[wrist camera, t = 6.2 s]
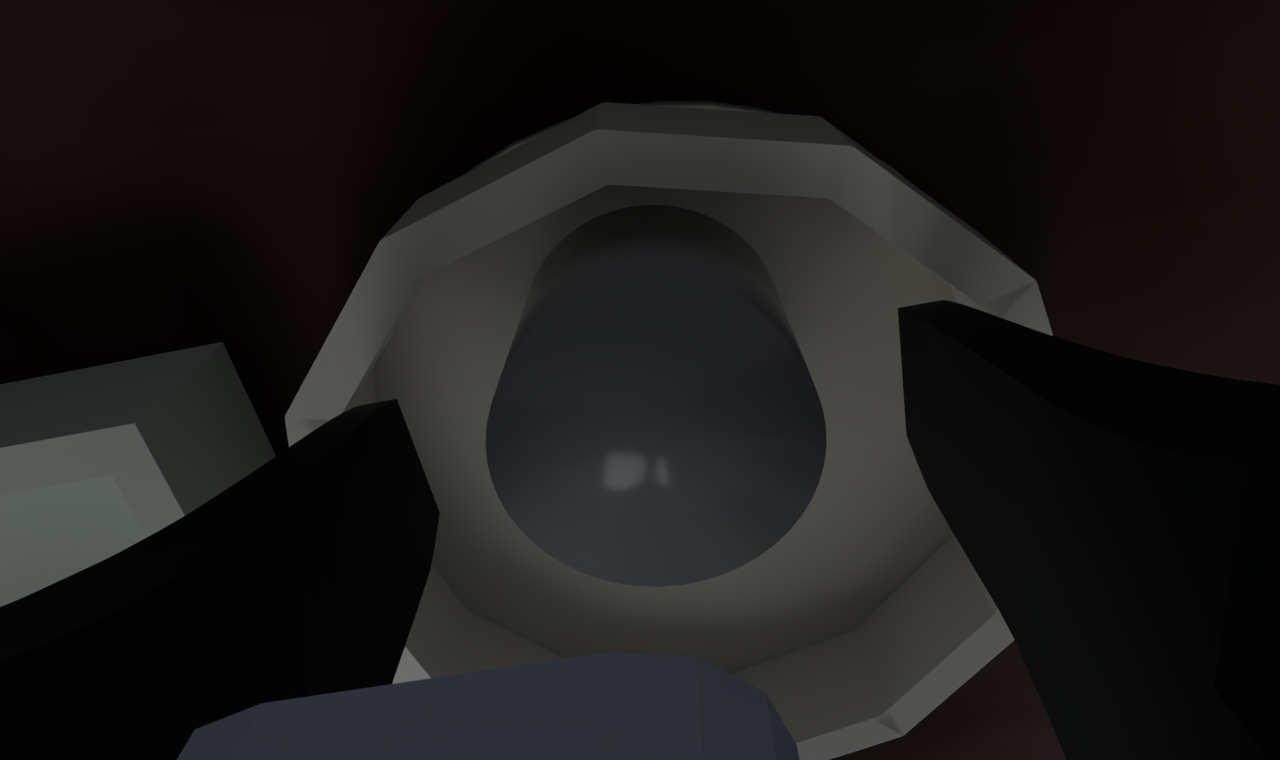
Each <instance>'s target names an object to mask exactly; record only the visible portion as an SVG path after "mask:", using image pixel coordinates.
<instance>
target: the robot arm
mask: <svg viewBox="0 0 1280 760" xmlns="http://www.w3.org/2000/svg"><path fill="white" fill-rule="evenodd" d="M898 320H899V334H900V349H901V364H902V378H903V393H904V407H905V422H906V435H907V438H908V441H909V443H910V446H911V448H912V451H913V453H914V456H915V459H916V461H917V464H918V466H919V469H920V471H921V474H922V476H923V478H924V481H925V483H926V486H927V488H928V490H929V492H930V494H931V496H932V497H933V499H934V501H935V503H936V505H937V506H938V508H939V510H940V511H941V513H942V515H943V517H944V518H945V520H946V522H947V523H948V525H949V527H950V529H951V530H952V532H953V534H954V535H955V537H956V539H957V540H958V542H959V544H960V545H961V547H962V549H963V551H964V552H965V554H966V556H967V557H968V559H969V561H970V562H971V564H972V566H973V567H974V569H975V571H976V572H977V574H978V576H979V577H980V579H981V581H982V583H983V584H984V586H985V588H986V589H987V591H988V593H989V594H990V596H991V598H992V599H993V601H994V603H995V604H996V606H997V608H998V610H999V611H1000V613H1001V615H1002V617H1003V619H1004V621H1005V623H1006V625H1007V626H1008V628H1009V630H1010V632H1011V634H1012V636H1013V638H1014V640H1015V642H1016V644H1017V646H1018V649H1019V651H1020V653H1021V655H1022V658H1023V660H1024V662H1025V664H1026V667H1027V669H1028V671H1029V673H1030V675H1031V678H1032V680H1033V682H1034V684H1035V687H1036V689H1037V691H1038V693H1039V696H1040V698H1041V700H1042V702H1043V705H1044V707H1045V709H1046V712H1047V714H1048V716H1049V719H1050V721H1051V724H1052V726H1053V728H1054V731H1055V733H1056V735H1057V738H1058V740H1059V742H1060V745H1061V747H1062V750H1063V752H1064V754H1065V757H1066V759H1067V760H1280V385H1276V384H1268V383H1260V382H1251V381H1243V380H1236V379H1229V378H1223V377H1217V376H1211V375H1205V374H1199V373H1194V372H1189V371H1184V370H1179V369H1175V368H1170V367H1165V366H1160V365H1155V364H1150V363H1145V362H1141V361H1137V360H1133V359H1129V358H1125V357H1121V356H1118V355H1114V354H1111V353H1107V352H1104V351H1100V350H1097V349H1093V348H1090V347H1086V346H1083V345H1079V344H1076V343H1073V342H1070V341H1067V340H1063V339H1060V338H1057V337H1054V336H1051V335H1048V334H1045V333H1042V332H1039V331H1037V330H1034V329H1031V328H1028V327H1025V326H1022V325H1020V324H1017V323H1014V322H1011V321H1008V320H1006V319H1003V318H1000V317H997V316H995V315H992V314H989V313H986V312H984V311H981V310H978V309H975V308H972V307H969V306H966V305H963V304H960V303H956V302H952V301H947V300H939V301H934V302H928V303H922V304H917V305H911V306H906V307H900V308H898ZM439 515H440V512H439V509H438V507H437V504H436V501H435V499H434V496H433V493H432V491H431V488H430V485H429V483H428V480H427V477H426V475H425V472H424V470H423V467H422V464H421V462H420V459H419V456H418V454H417V451H416V448H415V446H414V443H413V440H412V438H411V435H410V432H409V430H408V427H407V424H406V422H405V419H404V416H403V414H402V411H401V408H400V406H399V403H398V400H397V399H393V400H387V401H382V402H376V403H370V404H365V405H359V406H356V407H354V408H351V409H349V410H347V411H345V412H343V413H341V414H340V415H338V416H336V417H334V418H333V419H331V420H329V421H328V422H326V423H325V424H323V425H321V426H320V427H318V428H317V429H315V430H314V431H312V432H311V433H309V434H308V435H306V436H305V437H303V438H302V439H300V440H299V441H298V442H296V443H295V444H293V445H292V446H290V447H289V448H287V449H286V450H284V451H283V452H281V453H280V454H279V455H277V456H276V457H274V458H273V459H271V460H270V461H268V462H267V463H265V464H264V465H263V466H261V467H260V468H258V469H257V470H255V471H254V472H252V473H251V474H249V475H248V476H246V477H245V478H243V479H242V480H240V481H238V482H237V483H235V484H234V485H232V486H231V487H229V488H228V489H226V490H224V491H223V492H221V493H220V494H218V495H217V496H215V497H214V498H212V499H210V500H209V501H207V502H206V503H204V504H203V505H201V506H200V507H198V508H197V509H195V510H193V511H192V512H190V513H189V514H187V515H185V516H184V517H182V518H180V519H179V520H177V521H175V522H173V523H172V524H170V525H168V526H166V527H165V528H163V529H161V530H159V531H158V532H156V533H154V534H152V535H150V536H149V537H147V538H145V539H143V540H141V541H139V542H137V543H136V544H134V545H132V546H130V547H128V548H126V549H124V550H123V551H121V552H119V553H117V554H115V555H113V556H111V557H109V558H107V559H105V560H103V561H101V562H99V563H97V564H95V565H92V566H90V567H88V568H86V569H84V570H82V571H79V572H77V573H75V574H73V575H71V576H69V577H67V578H64V579H62V580H60V581H58V582H56V583H54V584H51V585H49V586H47V587H45V588H43V589H41V590H38V591H36V592H34V593H32V594H30V595H28V596H25V597H23V598H21V599H18V600H16V601H14V602H11V603H9V604H6V605H4V606H1V607H0V760H800V759H799V754H798V749H797V745H796V743H795V741H794V739H793V738H792V736H791V734H790V733H789V731H788V729H787V728H786V726H785V724H784V723H783V721H782V719H781V717H780V716H779V714H778V712H777V711H776V709H775V707H774V706H773V704H772V702H771V701H770V699H769V697H768V695H767V694H766V692H765V691H763V690H761V689H759V688H757V687H755V686H753V685H751V684H749V683H747V682H745V681H743V680H741V679H739V678H737V677H735V676H733V675H731V674H729V673H727V672H725V671H723V670H721V669H719V668H717V667H715V666H714V665H712V664H710V663H708V662H706V661H704V660H702V659H700V658H698V657H696V656H683V655H663V654H643V653H623V652H606V653H599V654H592V655H585V656H579V657H572V658H565V659H558V660H552V661H545V662H538V663H531V664H525V665H518V666H511V667H504V668H498V669H491V670H484V671H477V672H471V673H464V674H457V675H450V676H444V677H437V678H430V679H423V680H417V681H410V682H403V683H396V684H392V683H393V680H394V677H395V674H396V671H397V668H398V665H399V662H400V659H401V656H402V654H403V651H404V648H405V645H406V642H407V639H408V636H409V633H410V630H411V627H412V624H413V622H414V619H415V616H416V613H417V610H418V607H419V604H420V601H421V598H422V595H423V592H424V589H425V586H426V582H427V579H428V576H429V573H430V569H431V564H432V559H433V553H434V548H435V542H436V536H437V529H438V522H439Z"/></svg>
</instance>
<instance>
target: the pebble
mask: <svg viewBox="0 0 1280 760" xmlns="http://www.w3.org/2000/svg"><path fill="white" fill-rule="evenodd" d="M485 444H486V456H487V464H488V468H489V472H490V476H491V480H492V483H493V485H494V488H495V490H496V493H497V495H498V498H499V499H500V501H501V503H502V505H503V506H504V508H505V510H506V512H507V513H508V515H509V516H510V517H511V519H512V520H513V521H514V523H515V524H516V525H517V526H518V528H519V529H520V530H521V531H522V532H523V533H524V534H525V535H526V536H527V537H528V538H529V539H530V540H531V541H532V542H533V543H534V544H535V545H537V546H538V547H539V548H541V549H542V550H543V551H544V552H546V553H547V554H548V555H550V556H551V557H553V558H555V559H556V560H558V561H560V562H561V563H563V564H565V565H567V566H569V567H571V568H573V569H575V570H577V571H580V572H582V573H584V574H587V575H590V576H593V577H596V578H599V579H602V580H606V581H611V582H615V583H620V584H626V585H635V586H655V587H664V586H675V585H684V584H689V583H695V582H700V581H704V580H707V579H711V578H714V577H717V576H720V575H723V574H726V573H728V572H730V571H733V570H735V569H737V568H739V567H742V566H743V565H745V564H747V563H749V562H750V561H752V560H754V559H756V558H757V557H759V556H760V555H762V554H763V553H764V552H766V551H767V550H769V549H770V548H771V547H773V546H774V545H775V544H776V543H777V542H778V541H779V540H780V539H782V538H783V537H784V536H785V535H786V534H787V533H788V532H789V531H790V530H791V528H792V527H793V526H794V525H795V524H796V522H797V521H798V520H799V519H800V517H801V516H802V514H803V513H804V511H805V510H806V508H807V506H808V505H809V503H810V502H811V500H812V498H813V495H814V493H815V491H816V489H817V486H818V484H819V481H820V478H821V474H822V471H823V467H824V462H825V454H826V424H825V419H824V413H823V408H822V405H821V402H820V399H819V396H818V393H817V390H816V388H815V385H814V383H813V380H812V378H811V375H810V373H809V370H808V368H807V365H806V363H805V360H804V358H803V355H802V353H801V350H800V348H799V345H798V343H797V340H796V338H795V335H794V333H793V330H792V328H791V325H790V323H789V320H788V318H787V315H786V313H785V310H784V308H783V305H782V303H781V300H780V298H779V295H778V293H777V290H776V288H775V285H774V283H773V280H772V278H771V276H770V274H769V272H768V270H767V268H766V266H765V264H764V263H763V261H762V260H761V259H760V257H759V256H758V255H757V253H756V252H755V250H754V249H753V248H752V247H751V246H750V245H749V244H748V243H747V242H746V241H745V240H744V239H743V238H742V237H741V236H739V235H738V234H737V233H735V232H734V231H733V230H732V229H730V228H729V227H727V226H726V225H724V224H722V223H720V222H719V221H717V220H715V219H713V218H711V217H709V216H706V215H704V214H701V213H699V212H696V211H692V210H688V209H685V208H681V207H674V206H667V205H641V206H633V207H626V208H622V209H618V210H614V211H610V212H608V213H605V214H603V215H600V216H598V217H595V218H593V219H591V220H590V221H588V222H586V223H584V224H583V225H581V226H579V227H578V228H576V229H575V230H574V231H572V232H571V233H570V234H568V235H567V236H566V237H565V238H564V239H563V240H562V241H561V242H560V243H559V244H558V245H557V246H555V247H554V248H553V250H552V251H551V252H550V254H549V255H548V256H547V258H546V259H545V260H544V261H543V263H542V265H541V267H540V268H539V270H538V272H537V274H536V276H535V278H534V280H533V283H532V286H531V288H530V291H529V294H528V297H527V300H526V303H525V306H524V308H523V311H522V314H521V317H520V320H519V323H518V326H517V329H516V332H515V335H514V338H513V341H512V344H511V347H510V350H509V353H508V356H507V359H506V362H505V365H504V368H503V370H502V373H501V376H500V379H499V382H498V385H497V388H496V391H495V394H494V397H493V400H492V403H491V407H490V411H489V416H488V420H487V426H486V441H485Z"/></svg>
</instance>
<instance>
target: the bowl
mask: <svg viewBox="0 0 1280 760" xmlns="http://www.w3.org/2000/svg"><path fill="white" fill-rule="evenodd" d="M641 205H667V206H674V207H681V208H685V209H688V210H692V211H696V212H699V213H701V214H704V215H706V216H709V217H711V218H713V219H715V220H717V221H719V222H720V223H722V224H724V225H726V226H727V227H729V228H730V229H732V230H733V231H734V232H735V233H737V234H738V235H739V236H741V237H742V238H743V239H744V240H745V241H746V242H747V243H748V244H749V245H750V246H751V247H752V248H753V249H754V250H755V252H756V253H757V255H758V256H759V257H760V259H761V260H762V261H763V263H764V264H765V266H766V268H767V270H768V272H769V274H770V276H771V278H772V280H773V283H774V285H775V288H776V290H777V293H778V295H779V298H780V300H781V303H782V305H783V308H784V310H785V313H786V315H787V318H788V320H789V323H790V325H791V328H792V330H793V333H794V335H795V338H796V340H797V343H798V345H799V348H800V350H801V353H802V355H803V358H804V360H805V363H806V365H807V368H808V370H809V373H810V375H811V378H812V380H813V383H814V385H815V388H816V390H817V393H818V396H819V399H820V402H821V405H822V408H823V413H824V419H825V424H826V454H825V462H824V467H823V471H822V474H821V478H820V481H819V484H818V486H817V489H816V491H815V493H814V495H813V498H812V500H811V502H810V503H809V505H808V506H807V508H806V510H805V511H804V513H803V514H802V516H801V517H800V519H799V520H798V521H797V522H796V524H795V525H794V526H793V527H792V528H791V530H790V531H789V532H788V533H787V534H786V535H785V536H784V537H783V538H782V539H780V540H779V541H778V542H777V543H776V544H775V545H774V546H773V547H771V548H770V549H769V550H767V551H766V552H764V553H763V554H762V555H760V556H759V557H757V558H756V559H754V560H752V561H750V562H749V563H747V564H745V565H743V566H742V567H739V568H737V569H735V570H733V571H730V572H728V573H726V574H723V575H720V576H717V577H714V578H711V579H707V580H704V581H700V582H695V583H689V584H684V585H675V586H664V587H655V586H635V585H626V584H620V583H615V582H611V581H606V580H602V579H599V578H596V577H593V576H590V575H587V574H584V573H582V572H580V571H577V570H575V569H573V568H571V567H569V566H567V565H565V564H563V563H561V562H560V561H558V560H556V559H555V558H553V557H551V556H550V555H548V554H547V553H546V552H544V551H543V550H542V549H541V548H539V547H538V546H537V545H535V544H534V543H533V542H532V541H531V540H530V539H529V538H528V537H527V536H526V535H525V534H524V533H523V532H522V531H521V530H520V529H519V528H518V526H517V525H516V524H515V523H514V521H513V520H512V519H511V517H510V516H509V515H508V513H507V512H506V510H505V508H504V506H503V505H502V503H501V501H500V499H499V498H498V495H497V493H496V490H495V488H494V485H493V483H492V480H491V476H490V472H489V468H488V464H487V456H486V444H485V441H486V426H487V420H488V416H489V411H490V407H491V403H492V400H493V397H494V394H495V391H496V388H497V385H498V382H499V379H500V376H501V373H502V370H503V368H504V365H505V362H506V359H507V356H508V353H509V350H510V347H511V344H512V341H513V338H514V335H515V332H516V329H517V326H518V323H519V320H520V317H521V314H522V311H523V308H524V306H525V303H526V300H527V297H528V294H529V291H530V288H531V286H532V283H533V280H534V278H535V276H536V274H537V272H538V270H539V268H540V267H541V265H542V263H543V261H544V260H545V259H546V258H547V256H548V255H549V254H550V252H551V251H552V250H553V248H554V247H555V246H557V245H558V244H559V243H560V242H561V241H562V240H563V239H564V238H565V237H566V236H567V235H568V234H570V233H571V232H572V231H574V230H575V229H576V228H578V227H579V226H581V225H583V224H584V223H586V222H588V221H590V220H591V219H593V218H595V217H598V216H600V215H603V214H605V213H608V212H610V211H614V210H618V209H622V208H626V207H633V206H641ZM939 300H947V301H952V302H956V303H960V304H963V305H966V306H969V307H972V308H975V309H978V310H981V311H984V312H986V313H989V314H992V315H995V316H997V317H1000V318H1003V319H1006V320H1008V321H1011V322H1014V323H1017V324H1020V325H1022V326H1025V327H1028V328H1031V329H1034V330H1037V331H1039V332H1042V333H1045V334H1048V335H1051V336H1053V334H1052V330H1051V327H1050V324H1049V320H1048V317H1047V314H1046V310H1045V307H1044V304H1043V300H1042V297H1041V294H1040V290H1039V287H1038V284H1037V281H1036V280H1035V279H1034V278H1033V277H1032V276H1030V275H1029V274H1028V273H1027V272H1026V271H1024V270H1023V269H1022V268H1021V267H1020V266H1018V265H1017V264H1016V263H1015V262H1014V261H1012V260H1011V259H1010V258H1009V257H1008V256H1006V255H1005V254H1004V253H1003V252H1002V251H1000V250H999V249H998V248H997V247H996V246H994V245H993V244H992V243H991V242H990V241H988V240H987V239H986V238H985V237H984V236H982V235H981V234H980V233H979V232H977V231H976V230H975V229H973V228H972V227H971V226H969V225H968V224H966V223H965V222H964V221H962V220H961V219H960V218H958V217H957V216H956V215H954V214H953V213H952V212H950V211H949V210H947V209H946V208H945V207H943V206H942V205H941V204H939V203H938V202H937V201H935V200H934V199H932V198H931V197H930V196H928V195H927V194H926V193H924V192H923V191H922V190H920V189H919V188H917V187H916V186H915V185H913V184H912V183H911V182H909V181H908V180H907V179H905V178H904V177H903V176H901V175H900V174H899V173H898V172H897V171H896V170H894V169H893V168H892V167H891V166H890V165H888V164H887V163H885V162H883V161H882V160H880V159H879V158H877V157H875V156H874V155H872V154H871V153H870V152H868V151H867V150H866V149H864V148H863V147H862V146H860V145H859V144H857V143H856V142H855V141H853V140H852V139H851V138H849V137H848V136H847V135H845V134H844V133H842V132H841V131H840V130H838V129H837V128H836V127H834V126H833V125H832V124H830V123H829V122H827V121H826V120H825V119H823V118H822V117H820V116H806V115H791V114H779V113H775V112H772V111H768V110H765V109H761V108H756V107H749V106H742V105H734V104H727V103H719V102H712V101H655V102H648V103H641V104H624V103H609V102H604V103H600V104H598V105H597V106H595V107H593V108H591V109H589V110H587V111H585V112H583V113H581V114H579V115H577V116H575V117H574V118H571V119H568V120H564V121H561V122H558V123H556V124H554V125H551V126H549V127H547V128H545V129H542V130H540V131H538V132H535V133H533V134H531V135H529V136H526V137H524V138H522V139H519V140H517V141H515V142H513V143H512V144H510V145H509V146H507V147H505V148H504V149H502V150H500V151H499V152H497V153H496V154H494V155H492V156H491V157H489V158H487V159H486V160H484V161H483V162H481V163H479V164H478V165H476V166H475V167H473V168H472V169H471V170H470V171H469V172H467V173H466V174H464V175H462V176H461V177H459V178H457V179H455V180H453V181H451V182H449V183H447V184H445V185H443V186H441V187H439V188H438V189H436V190H434V191H432V192H430V193H428V194H426V195H424V196H422V197H420V198H419V199H418V200H417V201H416V202H415V203H414V204H413V205H412V206H411V207H410V209H409V210H408V211H407V212H406V213H405V214H404V215H403V216H402V217H401V218H400V219H399V221H398V222H397V223H396V224H395V225H394V226H393V227H392V228H391V229H390V230H389V231H388V233H387V234H386V235H385V236H384V237H383V238H382V239H381V240H380V241H379V243H378V245H377V247H376V249H375V251H374V252H373V254H372V256H371V258H370V260H369V262H368V264H367V265H366V267H365V269H364V271H363V273H362V275H361V276H360V278H359V280H358V282H357V284H356V286H355V288H354V289H353V291H352V293H351V295H350V297H349V299H348V301H347V302H346V304H345V306H344V308H343V310H342V312H341V313H340V315H339V317H338V319H337V321H336V323H335V325H334V326H333V328H332V330H331V332H330V334H329V336H328V337H327V339H326V341H325V343H324V345H323V347H322V349H321V350H320V352H319V354H318V356H317V358H316V360H315V361H314V363H313V365H312V367H311V369H310V371H309V373H308V374H307V376H306V378H305V380H304V382H303V384H302V386H301V387H300V389H299V391H298V393H297V395H296V397H295V398H294V400H293V402H292V404H291V406H290V408H289V410H288V411H287V413H286V415H285V423H286V430H287V437H288V444H289V447H290V446H292V445H293V444H295V443H296V442H298V441H299V440H300V439H302V438H303V437H305V436H306V435H308V434H309V433H311V432H312V431H314V430H315V429H317V428H318V427H320V426H321V425H323V424H325V423H326V422H328V421H329V420H331V419H333V418H334V417H336V416H338V415H340V414H341V413H343V412H345V411H347V410H349V409H351V408H354V407H356V406H359V405H365V404H370V403H376V402H382V401H387V400H393V399H397V400H398V403H399V406H400V408H401V411H402V414H403V416H404V419H405V422H406V424H407V427H408V430H409V432H410V435H411V438H412V440H413V443H414V446H415V448H416V451H417V454H418V456H419V459H420V462H421V464H422V467H423V470H424V472H425V475H426V477H427V480H428V483H429V485H430V488H431V491H432V493H433V496H434V499H435V501H436V504H437V507H438V509H439V512H440V515H439V522H438V529H437V536H436V542H435V548H434V553H433V559H432V564H431V569H430V573H429V576H428V579H427V582H426V586H425V589H424V592H423V595H422V598H421V601H420V604H419V607H418V610H417V613H416V616H415V619H414V622H413V624H412V627H411V630H410V633H409V636H408V639H407V642H406V645H405V648H404V651H403V654H402V656H401V659H400V662H399V665H398V668H397V671H396V674H395V677H394V680H393V684H396V683H403V682H410V681H417V680H423V679H430V678H437V677H444V676H450V675H457V674H464V673H471V672H477V671H484V670H491V669H498V668H504V667H511V666H518V665H525V664H531V663H538V662H545V661H552V660H558V659H565V658H572V657H579V656H585V655H592V654H599V653H606V652H623V653H643V654H663V655H683V656H696V657H698V658H700V659H702V660H704V661H706V662H708V663H710V664H712V665H714V666H715V667H717V668H719V669H721V670H723V671H725V672H727V673H729V674H731V675H733V676H735V677H737V678H739V679H741V680H743V681H745V682H747V683H749V684H751V685H753V686H755V687H757V688H759V689H761V690H763V691H765V692H766V694H767V695H768V697H769V699H770V701H771V702H772V704H773V706H774V707H775V709H776V711H777V712H778V714H779V716H780V717H781V719H782V721H783V723H784V724H785V726H786V728H787V729H788V731H789V733H790V734H791V736H792V738H793V739H794V741H795V743H796V745H797V749H798V754H799V759H800V760H830V759H833V758H836V757H839V756H843V755H846V754H849V753H852V752H855V751H858V750H861V749H864V748H867V747H871V746H874V745H877V744H880V743H883V742H886V741H889V740H892V739H896V738H899V737H902V735H903V736H904V735H905V734H906V733H907V732H908V731H910V730H911V729H912V728H913V727H914V726H915V725H917V724H918V723H919V722H920V721H921V720H922V719H924V718H925V717H926V716H927V715H928V714H929V713H930V712H932V711H933V710H934V709H935V708H936V707H937V706H939V705H940V704H941V703H942V702H943V701H944V700H946V699H947V698H948V697H949V696H950V695H951V694H952V693H954V692H955V691H956V690H957V689H958V688H959V687H961V686H962V685H963V684H964V683H965V682H966V681H968V680H969V679H970V678H971V677H972V676H973V675H974V674H976V673H977V672H978V671H979V670H980V669H981V668H983V667H984V666H985V665H986V664H987V663H988V662H990V661H991V660H992V659H993V658H994V657H995V656H996V655H998V654H999V653H1000V652H1001V651H1002V650H1003V649H1005V648H1006V647H1007V646H1008V645H1009V644H1010V643H1012V642H1013V641H1014V638H1013V636H1012V634H1011V632H1010V630H1009V628H1008V626H1007V625H1006V623H1005V621H1004V619H1003V617H1002V615H1001V613H1000V611H999V610H998V608H997V606H996V604H995V603H994V601H993V599H992V598H991V596H990V594H989V593H988V591H987V589H986V588H985V586H984V584H983V583H982V581H981V579H980V577H979V576H978V574H977V572H976V571H975V569H974V567H973V566H972V564H971V562H970V561H969V559H968V557H967V556H966V554H965V552H964V551H963V549H962V547H961V545H960V544H959V542H958V540H957V539H956V537H955V535H954V534H953V532H952V530H951V529H950V527H949V525H948V523H947V522H946V520H945V518H944V517H943V515H942V513H941V511H940V510H939V508H938V506H937V505H936V503H935V501H934V499H933V497H932V496H931V494H930V492H929V490H928V488H927V486H926V483H925V481H924V478H923V476H922V474H921V471H920V469H919V466H918V464H917V461H916V459H915V456H914V453H913V451H912V448H911V446H910V443H909V441H908V438H907V435H906V422H905V407H904V393H903V378H902V364H901V349H900V334H899V320H898V308H900V307H906V306H911V305H917V304H922V303H928V302H934V301H939Z"/></svg>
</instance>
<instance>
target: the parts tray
mask: <svg viewBox="0 0 1280 760" xmlns="http://www.w3.org/2000/svg"><path fill="white" fill-rule="evenodd" d="M274 457H276V455H275V453H274V451H273V448H272V446H271V444H270V442H269V440H268V438H267V436H266V433H265V431H264V429H263V427H262V425H261V423H260V421H259V419H258V416H257V414H256V412H255V410H254V408H253V406H252V404H251V401H250V399H249V397H248V395H247V393H246V391H245V389H244V386H243V384H242V382H241V380H240V378H239V376H238V374H237V372H236V369H235V367H234V365H233V363H232V361H231V359H230V357H229V354H228V352H227V350H226V348H225V346H224V344H223V342H219V343H214V344H209V345H204V346H198V347H193V348H188V349H183V350H178V351H172V352H167V353H162V354H157V355H151V356H146V357H141V358H136V359H131V360H125V361H120V362H115V363H110V364H104V365H99V366H94V367H89V368H84V369H78V370H73V371H68V372H63V373H57V374H52V375H47V376H42V377H37V378H31V379H26V380H21V381H16V382H10V383H5V384H0V607H1V606H4V605H6V604H9V603H11V602H14V601H16V600H18V599H21V598H23V597H25V596H28V595H30V594H32V593H34V592H36V591H38V590H41V589H43V588H45V587H47V586H49V585H51V584H54V583H56V582H58V581H60V580H62V579H64V578H67V577H69V576H71V575H73V574H75V573H77V572H79V571H82V570H84V569H86V568H88V567H90V566H92V565H95V564H97V563H99V562H101V561H103V560H105V559H107V558H109V557H111V556H113V555H115V554H117V553H119V552H121V551H123V550H124V549H126V548H128V547H130V546H132V545H134V544H136V543H137V542H139V541H141V540H143V539H145V538H147V537H149V536H150V535H152V534H154V533H156V532H158V531H159V530H161V529H163V528H165V527H166V526H168V525H170V524H172V523H173V522H175V521H177V520H179V519H180V518H182V517H184V516H185V515H187V514H189V513H190V512H192V511H193V510H195V509H197V508H198V507H200V506H201V505H203V504H204V503H206V502H207V501H209V500H210V499H212V498H214V497H215V496H217V495H218V494H220V493H221V492H223V491H224V490H226V489H228V488H229V487H231V486H232V485H234V484H235V483H237V482H238V481H240V480H242V479H243V478H245V477H246V476H248V475H249V474H251V473H252V472H254V471H255V470H257V469H258V468H260V467H261V466H263V465H264V464H265V463H267V462H268V461H270V460H271V459H273V458H274Z"/></svg>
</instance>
